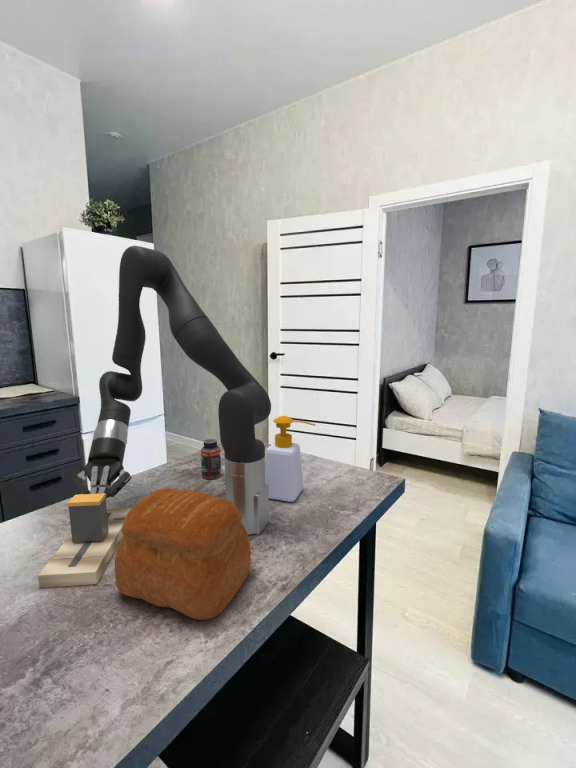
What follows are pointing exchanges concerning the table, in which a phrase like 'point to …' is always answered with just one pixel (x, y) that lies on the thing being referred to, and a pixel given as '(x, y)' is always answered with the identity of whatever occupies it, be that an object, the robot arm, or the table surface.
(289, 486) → the soap bottle
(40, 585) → the grooved wooden slider track
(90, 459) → the robot arm
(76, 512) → the fader knob
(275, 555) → the table surface
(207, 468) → the supplement bottle
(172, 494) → the bread
